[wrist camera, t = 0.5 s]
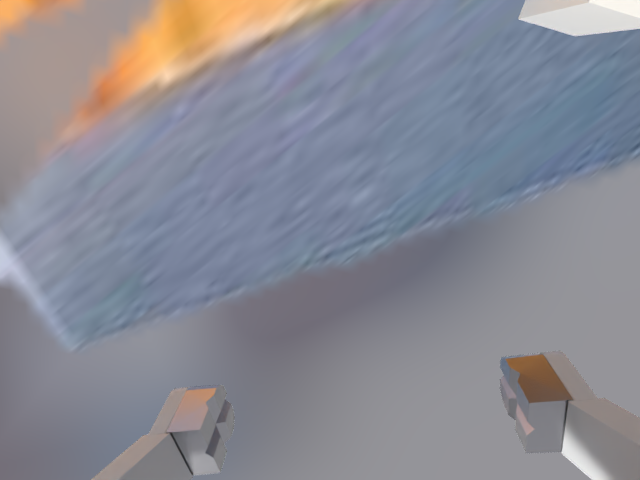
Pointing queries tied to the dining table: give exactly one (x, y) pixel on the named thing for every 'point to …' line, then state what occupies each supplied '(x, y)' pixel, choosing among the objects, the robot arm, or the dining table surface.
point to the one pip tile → (583, 15)
